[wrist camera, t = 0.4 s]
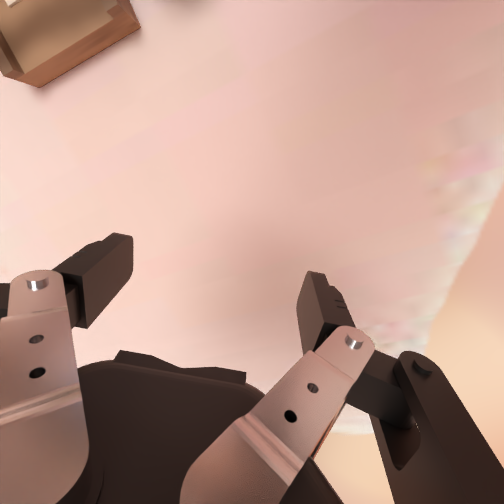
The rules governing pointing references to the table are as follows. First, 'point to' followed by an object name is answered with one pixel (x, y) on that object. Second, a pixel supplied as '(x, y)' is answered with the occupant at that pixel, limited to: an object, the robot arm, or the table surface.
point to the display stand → (58, 35)
